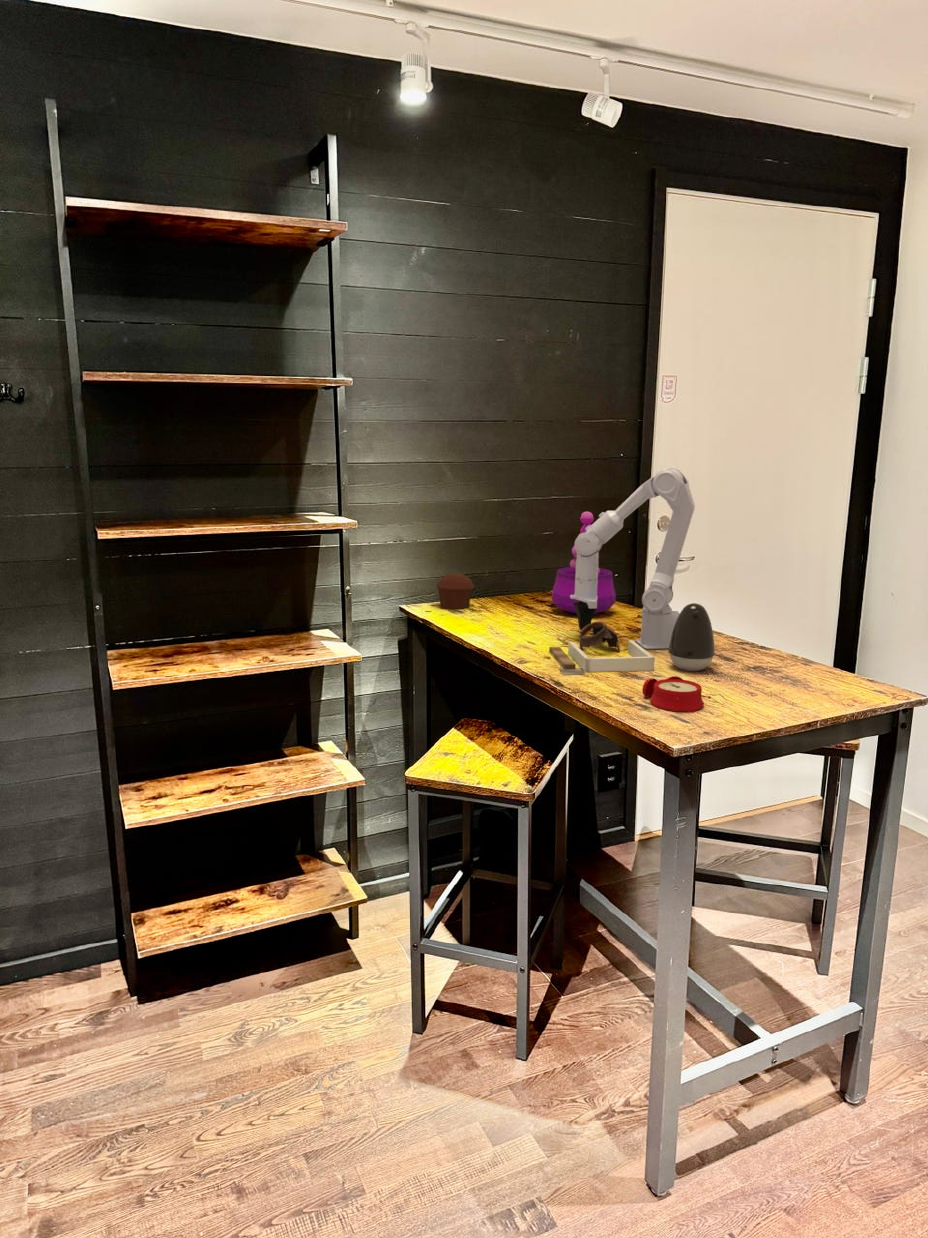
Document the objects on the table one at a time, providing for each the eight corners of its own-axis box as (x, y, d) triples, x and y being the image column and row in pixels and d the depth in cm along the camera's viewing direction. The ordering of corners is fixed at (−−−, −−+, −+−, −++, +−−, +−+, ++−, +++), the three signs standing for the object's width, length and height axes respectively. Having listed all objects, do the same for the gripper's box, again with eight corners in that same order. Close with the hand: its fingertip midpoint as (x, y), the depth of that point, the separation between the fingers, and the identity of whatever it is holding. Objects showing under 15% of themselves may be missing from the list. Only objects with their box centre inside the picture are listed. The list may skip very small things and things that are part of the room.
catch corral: (631, 652, 209) (632, 640, 208) (653, 670, 193) (654, 657, 193) (568, 653, 207) (568, 641, 206) (585, 672, 191) (585, 659, 191)
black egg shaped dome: (669, 673, 191) (674, 607, 188) (665, 661, 201) (669, 598, 198) (716, 675, 190) (721, 609, 186) (709, 663, 200) (714, 599, 197)
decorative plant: (549, 605, 263) (553, 507, 256) (610, 606, 262) (615, 508, 256) (553, 618, 245) (557, 514, 238) (618, 620, 244) (624, 515, 237)
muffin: (428, 607, 259) (428, 574, 256) (451, 601, 267) (451, 570, 265) (459, 612, 252) (459, 579, 249) (481, 606, 260) (482, 574, 258)
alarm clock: (672, 699, 162) (634, 662, 175) (666, 727, 164) (629, 688, 177) (719, 694, 165) (678, 658, 178) (712, 721, 168) (673, 684, 181)
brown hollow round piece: (625, 657, 206) (611, 630, 203) (588, 672, 209) (575, 645, 205) (619, 633, 217) (607, 607, 214) (585, 647, 219) (572, 622, 216)
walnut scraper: (544, 653, 208) (544, 647, 208) (564, 652, 209) (564, 646, 209) (563, 676, 189) (563, 669, 189) (585, 675, 190) (585, 669, 189)
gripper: (564, 574, 225) (562, 623, 228) (578, 583, 211) (576, 637, 214) (590, 573, 226) (588, 623, 229) (606, 583, 212) (603, 636, 215)
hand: (584, 630), depth 222 cm, fingers closed
